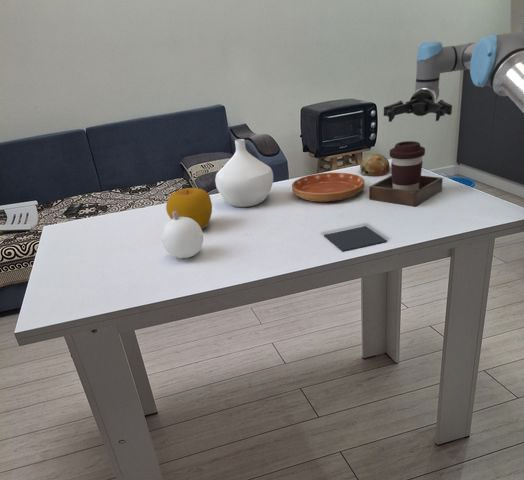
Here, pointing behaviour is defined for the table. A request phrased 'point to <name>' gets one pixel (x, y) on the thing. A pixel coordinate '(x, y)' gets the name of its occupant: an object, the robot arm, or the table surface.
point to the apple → (191, 205)
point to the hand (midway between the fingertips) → (413, 116)
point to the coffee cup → (406, 165)
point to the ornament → (182, 236)
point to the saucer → (328, 186)
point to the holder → (410, 198)
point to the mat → (354, 238)
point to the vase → (244, 178)
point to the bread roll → (374, 165)
